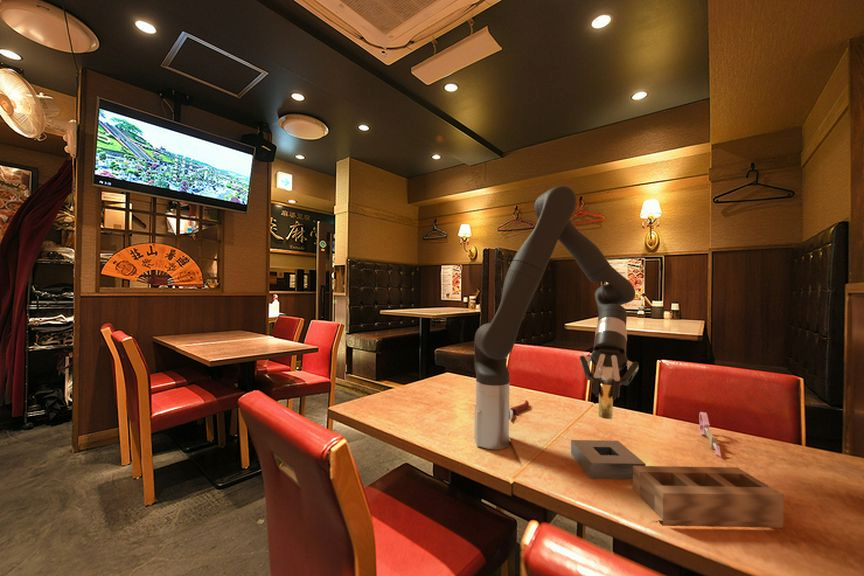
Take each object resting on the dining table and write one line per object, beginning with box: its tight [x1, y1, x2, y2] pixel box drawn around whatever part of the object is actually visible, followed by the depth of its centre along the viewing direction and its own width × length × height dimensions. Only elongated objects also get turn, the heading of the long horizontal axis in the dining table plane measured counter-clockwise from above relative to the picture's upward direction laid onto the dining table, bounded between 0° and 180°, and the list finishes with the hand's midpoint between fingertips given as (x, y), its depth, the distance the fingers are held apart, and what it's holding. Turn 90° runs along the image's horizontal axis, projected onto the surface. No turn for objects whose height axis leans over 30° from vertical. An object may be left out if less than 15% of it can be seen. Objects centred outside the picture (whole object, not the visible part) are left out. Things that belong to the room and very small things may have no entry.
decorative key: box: [698, 411, 722, 458], centre depth 101 cm, size 7×1×20 cm
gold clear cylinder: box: [598, 365, 614, 420], centre depth 86 cm, size 3×3×12 cm
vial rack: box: [632, 465, 785, 529], centre depth 71 cm, size 22×10×6 cm, turn 90°
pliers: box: [509, 400, 530, 421], centre depth 125 cm, size 12×20×3 cm, turn 161°
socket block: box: [570, 439, 647, 481], centre depth 86 cm, size 12×12×4 cm
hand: (605, 396), depth 84 cm, fingers closed on gold clear cylinder, 3 cm apart
